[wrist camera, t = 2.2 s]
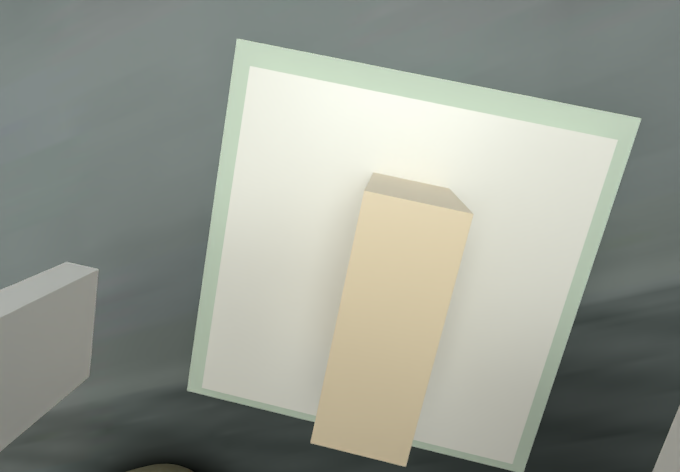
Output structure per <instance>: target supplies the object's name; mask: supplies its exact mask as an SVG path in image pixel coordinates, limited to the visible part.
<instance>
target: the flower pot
mask: <svg viewBox="0 0 680 472" xmlns="http://www.w3.org/2000/svg"><path fill="white" fill-rule="evenodd" d="M127 472H194V471H192V470H190V469H188V468H185V467H182V466H179V465H174V464H155V465H150V466H145V467H141V468H137V469H133V470H130V471H127Z"/></svg>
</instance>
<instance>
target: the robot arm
mask: <svg viewBox="0 0 680 472" xmlns="http://www.w3.org/2000/svg"><path fill="white" fill-rule="evenodd" d="M98 272H99V269H96V268H92V267H87V266H83V265H78V264H74V263H69V262H65V263H63V264H60V265H58V266H56V267H53V268H51V269H49V270H46V271H44V272H42V273H39V274H37V275H34V276H32V277H30V278H27V279H25V280H23V281H20V282H18V283H15V284H13V285H11V286H8V287H6V288H4V289H1V290H0V451H1V450H3V449H4V448H5V447H6V446H7V445H9V444H10V443H11V442H12V441H13V440H14V439H16V438H17V437H18V436H19V435H20V434H22V433H23V432H24V431H25V430H26V429H28V428H29V427H30V426H31V425H32V424H34V423H35V422H36V421H37V420H38V419H39V418H41V417H42V416H43V415H44V414H45V413H47V412H48V411H49V410H50V409H51V408H53V407H54V406H55V405H56V404H57V403H59V402H60V401H61V400H62V399H63V398H65V397H66V396H67V395H68V394H69V393H70V392H72V391H73V390H74V389H75V388H76V387H78V386H79V385H80V384H81V383H82V382H84V381H85V380H86V379H87V378H88V377H89V376H90V364H91V353H92V341H93V330H94V318H95V306H96V295H97V283H98ZM653 472H680V406H679V408H678V411H677V413H676V415H675V418H674V420H673V423H672V425H671V428H670V430H669V433H668V435H667V437H666V440H665V442H664V445H663V447H662V450H661V452H660V454H659V457H658V459H657V462H656V464H655V467H654V469H653Z"/></svg>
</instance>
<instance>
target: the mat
mask: <svg viewBox="0 0 680 472" xmlns="http://www.w3.org/2000/svg"><path fill="white" fill-rule="evenodd" d="M250 66H253V67H258V68H263V69H268V70H273V71H278V72H283V73H288V74H293V75H298V76H303V77H308V78H313V79H317V80H322V81H327V82H332V83H337V84H342V85H347V86H352V87H357V88H362V89H367V90H372V91H377V92H382V93H387V94H392V95H397V96H402V97H407V98H412V99H417V100H422V101H427V102H432V103H437V104H442V105H447V106H452V107H457V108H462V109H467V110H472V111H477V112H482V113H487V114H492V115H497V116H501V117H506V118H511V119H516V120H521V121H526V122H531V123H536V124H541V125H546V126H551V127H556V128H561V129H566V130H571V131H576V132H581V133H586V134H591V135H596V136H601V137H606V138H611V139H616V140H618V142H617V145H616V148H615V151H614V154H613V157H612V160H611V163H610V166H609V169H608V172H607V175H606V178H605V181H604V184H603V188H602V191H601V194H600V197H599V200H598V203H597V206H596V209H595V212H594V215H593V218H592V221H591V224H590V227H589V231H588V234H587V237H586V240H585V243H584V246H583V249H582V252H581V255H580V258H579V261H578V264H577V267H576V270H575V273H574V277H573V280H572V283H571V286H570V289H569V292H568V295H567V298H566V301H565V304H564V307H563V310H562V313H561V316H560V319H559V323H558V326H557V329H556V332H555V335H554V338H553V341H552V344H551V347H550V350H549V353H548V356H547V359H546V362H545V366H544V369H543V372H542V375H541V378H540V381H539V384H538V387H537V390H536V393H535V396H534V399H533V402H532V405H531V408H530V412H529V415H528V418H527V421H526V424H525V427H524V430H523V433H522V436H521V439H520V442H519V445H518V448H517V451H516V455H515V458H514V461H513V464H510V463H506V462H502V461H498V460H494V459H489V458H485V457H481V456H477V455H473V454H469V453H465V452H461V451H457V450H453V449H449V448H445V447H441V446H437V445H432V444H428V443H424V442H420V441H416V440H413V442H412V446H413V447H417V448H421V449H425V450H429V451H433V452H437V453H442V454H446V455H450V456H454V457H458V458H462V459H466V460H470V461H474V462H478V463H482V464H486V465H490V466H494V467H498V468H502V469H506V470H510V471H515V472H524V469H525V466H526V463H527V460H528V457H529V454H530V451H531V448H532V445H533V442H534V439H535V436H536V433H537V430H538V427H539V424H540V421H541V418H542V415H543V412H544V409H545V406H546V403H547V400H548V397H549V394H550V391H551V388H552V385H553V382H554V379H555V376H556V373H557V370H558V367H559V364H560V361H561V358H562V355H563V352H564V349H565V346H566V343H567V340H568V337H569V334H570V331H571V328H572V325H573V322H574V319H575V316H576V313H577V310H578V307H579V304H580V301H581V298H582V295H583V292H584V289H585V286H586V283H587V280H588V277H589V274H590V271H591V268H592V265H593V262H594V259H595V256H596V253H597V250H598V247H599V244H600V241H601V238H602V235H603V232H604V229H605V226H606V223H607V220H608V217H609V214H610V211H611V208H612V205H613V202H614V199H615V196H616V193H617V190H618V187H619V184H620V181H621V178H622V175H623V172H624V169H625V166H626V163H627V160H628V157H629V154H630V151H631V148H632V145H633V142H634V139H635V136H636V133H637V130H638V127H639V124H640V121H641V118H636V117H631V116H626V115H621V114H616V113H611V112H606V111H601V110H596V109H591V108H586V107H581V106H575V105H570V104H565V103H560V102H555V101H550V100H545V99H540V98H535V97H530V96H525V95H520V94H515V93H510V92H505V91H500V90H495V89H490V88H484V87H479V86H474V85H469V84H464V83H459V82H454V81H449V80H444V79H439V78H434V77H429V76H424V75H419V74H414V73H409V72H404V71H399V70H393V69H388V68H383V67H378V66H373V65H368V64H363V63H358V62H353V61H348V60H343V59H338V58H333V57H328V56H323V55H318V54H313V53H308V52H302V51H297V50H292V49H287V48H282V47H277V46H272V45H267V44H262V43H257V42H252V41H247V40H242V39H237V42H236V49H235V56H234V63H233V70H232V77H231V84H230V91H229V98H228V105H227V112H226V119H225V126H224V133H223V140H222V147H221V154H220V161H219V168H218V175H217V182H216V189H215V196H214V204H213V211H212V218H211V225H210V232H209V239H208V246H207V253H206V260H205V267H204V274H203V281H202V288H201V295H200V302H199V309H198V316H197V323H196V330H195V337H194V344H193V351H192V358H191V365H190V373H189V380H188V387H187V391H190V392H194V393H198V394H202V395H206V396H210V397H214V398H218V399H223V400H227V401H231V402H235V403H239V404H243V405H247V406H251V407H255V408H259V409H263V410H267V411H271V412H275V413H279V414H283V415H287V416H291V417H296V418H300V419H304V420H308V421H312V422H315V419H316V416H314V415H310V414H306V413H302V412H298V411H294V410H290V409H286V408H282V407H278V406H274V405H270V404H266V403H262V402H257V401H253V400H249V399H245V398H241V397H237V396H233V395H229V394H225V393H221V392H217V391H213V390H209V389H205V388H202V383H203V376H204V369H205V363H206V356H207V349H208V343H209V336H210V329H211V323H212V316H213V309H214V303H215V296H216V289H217V283H218V276H219V269H220V263H221V256H222V249H223V242H224V236H225V229H226V222H227V216H228V209H229V202H230V196H231V189H232V182H233V176H234V169H235V162H236V156H237V149H238V142H239V136H240V129H241V122H242V115H243V109H244V102H245V95H246V89H247V82H248V75H249V69H250Z"/></svg>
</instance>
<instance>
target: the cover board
mask: <svg viewBox="0 0 680 472" xmlns="http://www.w3.org/2000/svg"><path fill="white" fill-rule="evenodd" d="M617 142H618V140H616V139H611V138H606V137H601V136H596V135H591V134H586V133H581V132H576V131H571V130H566V129H561V128H556V127H551V126H546V125H541V124H536V123H531V122H526V121H521V120H516V119H511V118H506V117H501V116H497V115H492V114H487V113H482V112H477V111H472V110H467V109H462V108H457V107H452V106H447V105H442V104H437V103H432V102H427V101H422V100H417V99H412V98H407V97H402V96H397V95H392V94H387V93H382V92H377V91H372V90H367V89H362V88H357V87H352V86H347V85H342V84H337V83H332V82H327V81H322V80H317V79H313V78H308V77H303V76H298V75H293V74H288V73H283V72H278V71H273V70H268V69H263V68H258V67H253V66H250V69H249V75H248V82H247V89H246V95H245V102H244V109H243V115H242V122H241V129H240V136H239V142H238V149H237V156H236V162H235V169H234V176H233V182H232V189H231V196H230V202H229V209H228V216H227V222H226V229H225V236H224V242H223V249H222V256H221V263H220V269H219V276H218V283H217V289H216V296H215V303H214V309H213V316H212V323H211V329H210V336H209V343H208V349H207V356H206V363H205V369H204V376H203V383H202V388H205V389H209V390H213V391H217V392H221V393H225V394H229V395H233V396H237V397H241V398H245V399H249V400H253V401H257V402H262V403H266V404H270V405H274V406H278V407H282V408H286V409H290V410H294V411H298V412H302V413H306V414H310V415H314V416H316V419H315V424H314V428H313V433H312V438H311V443H312V444H316V445H320V446H324V447H328V448H332V449H336V450H340V451H344V452H348V453H352V454H356V455H360V456H364V457H368V458H372V459H376V460H380V461H384V462H388V463H392V464H396V465H400V466H404V467H406V464H407V461H408V457H409V453H410V450H411V446H412V442H413V440H416V441H420V442H424V443H428V444H432V445H437V446H441V447H445V448H449V449H453V450H457V451H461V452H465V453H469V454H473V455H477V456H481V457H485V458H489V459H494V460H498V461H502V462H506V463H510V464H513V461H514V458H515V455H516V451H517V448H518V445H519V442H520V439H521V436H522V433H523V430H524V427H525V424H526V421H527V418H528V415H529V412H530V408H531V405H532V402H533V399H534V396H535V393H536V390H537V387H538V384H539V381H540V378H541V375H542V372H543V369H544V366H545V362H546V359H547V356H548V353H549V350H550V347H551V344H552V341H553V338H554V335H555V332H556V329H557V326H558V323H559V319H560V316H561V313H562V310H563V307H564V304H565V301H566V298H567V295H568V292H569V289H570V286H571V283H572V280H573V277H574V273H575V270H576V267H577V264H578V261H579V258H580V255H581V252H582V249H583V246H584V243H585V240H586V237H587V234H588V231H589V227H590V224H591V221H592V218H593V215H594V212H595V209H596V206H597V203H598V200H599V197H600V194H601V191H602V188H603V184H604V181H605V178H606V175H607V172H608V169H609V166H610V163H611V160H612V157H613V154H614V151H615V148H616V145H617Z"/></svg>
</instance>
